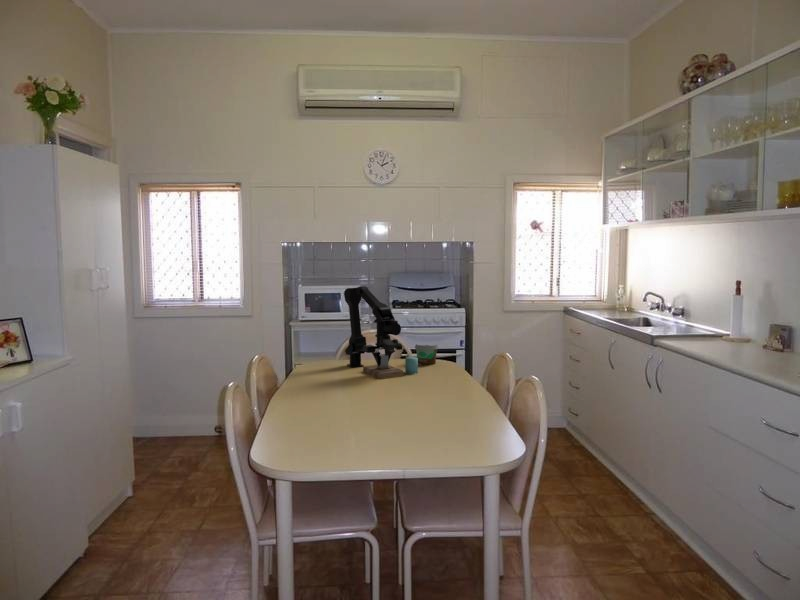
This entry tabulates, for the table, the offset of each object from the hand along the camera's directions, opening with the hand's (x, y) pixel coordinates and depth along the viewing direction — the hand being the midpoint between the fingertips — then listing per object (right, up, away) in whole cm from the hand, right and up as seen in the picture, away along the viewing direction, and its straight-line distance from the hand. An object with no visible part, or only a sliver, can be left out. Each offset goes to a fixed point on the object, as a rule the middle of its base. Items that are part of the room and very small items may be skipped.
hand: (382, 365), depth 268 cm
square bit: (0, -2, 0) cm, 2 cm away
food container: (+21, -2, +22) cm, 30 cm away
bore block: (0, -4, 0) cm, 4 cm away
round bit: (+14, -4, +2) cm, 14 cm away
